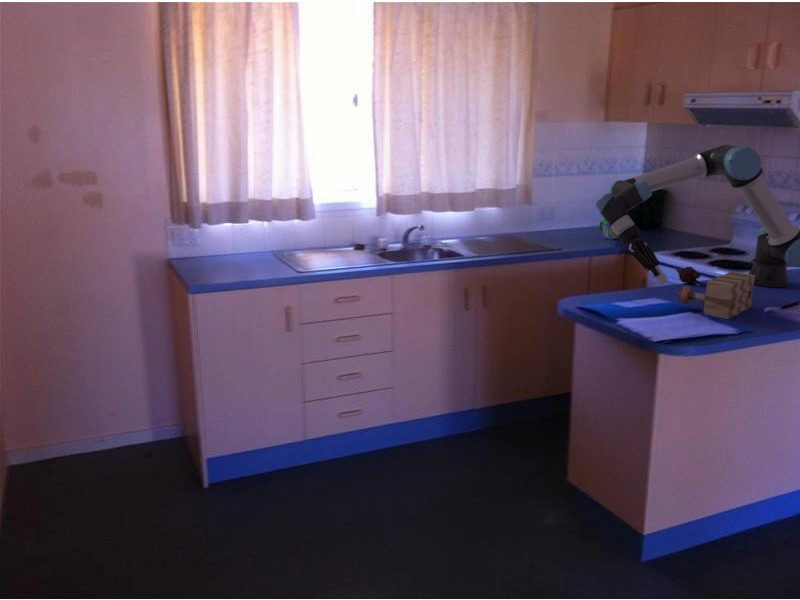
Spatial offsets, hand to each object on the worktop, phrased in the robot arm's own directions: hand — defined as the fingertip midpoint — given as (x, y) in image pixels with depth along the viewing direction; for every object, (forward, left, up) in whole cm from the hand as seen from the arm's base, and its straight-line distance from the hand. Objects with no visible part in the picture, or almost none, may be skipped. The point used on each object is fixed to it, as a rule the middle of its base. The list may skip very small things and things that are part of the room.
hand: (664, 282), depth 256 cm
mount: (-14, +16, -8) cm, 23 cm away
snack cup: (-75, -112, -9) cm, 135 cm away
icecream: (-35, -21, -9) cm, 41 cm away
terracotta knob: (-5, +11, -6) cm, 13 cm away
